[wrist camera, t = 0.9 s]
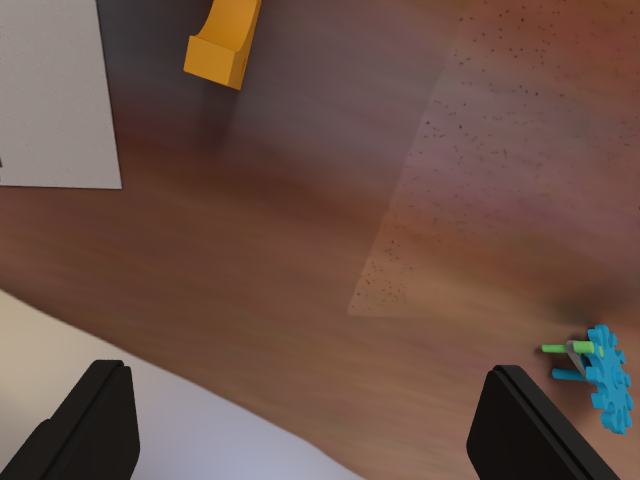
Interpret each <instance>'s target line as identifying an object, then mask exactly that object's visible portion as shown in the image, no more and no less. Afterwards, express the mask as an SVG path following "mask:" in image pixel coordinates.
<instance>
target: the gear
mask: <svg viewBox="0 0 640 480" xmlns="http://www.w3.org/2000/svg"><path fill="white" fill-rule="evenodd" d="M588 336H589V339H590V341H577V340H568V341H567V343H566V345H542V350H543V352H558V353H568V355H569V357H570V358H571V359H572V361H573V362H574V364H575V365H576V367H577V368H578V370H569V369H553V371H552V373H553V377H554V378H555V379H567V380H580V381H587V383H588V384H590V385H596V387H597V389H598V393H592V394H591V396H592V402H593V406H594V408H596V409H604V410H605V411H604V413H601V421H602V424H603V426H604V428H607V429H611V431H612V432H613V433H617V434H623V435H626V428H625V427H631V425H632V421H631V417H630V415H629V412H628V410H633V400H632V398H631V397H630V395H629V394H628V392H627V389H626V387H631V381H630V376H629V374H627V373H624V371H623V370H622V368H621V365H620V363H621V364H625V357H624V353H623V351H615V350H614V346H617V345H618V341H617V338H616V336H615V334H614V333H609V329H608V327H607V326H606V325H595V329H589V330H588ZM583 353H584V354H583ZM584 355H585V356H586V357H588V358H589V360H590V362H591V364H592V366H591V365H590V363H589V362H588V360H587V359H586V357H585V356H584Z"/></svg>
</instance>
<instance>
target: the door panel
mask: <svg viewBox="0 0 640 480" xmlns="http://www.w3.org/2000/svg"><path fill="white" fill-rule="evenodd" d="M0 185H10V186H43V187H76V188H109V189H122V188H123V187H122V179H121V172H120V165H119V158H118V151H117V144H116V136H115V129H114V122H113V115H112V108H111V101H110V93H109V86H108V79H107V72H106V65H105V58H104V50H103V43H102V36H101V29H100V22H99V15H98V7H97V0H0Z"/></svg>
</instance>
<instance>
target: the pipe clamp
mask: <svg viewBox="0 0 640 480" xmlns="http://www.w3.org/2000/svg"><path fill="white" fill-rule="evenodd" d="M261 2H262V0H214V2H213V5H212V8H211V11H210V14H209V16H208V19H207V21H206V23H205V25H204V27H203V29H202V30H201V31H200V32H199V34H197V35H196V36H191V35H190V38H189V44H188V49H187V54H186V59H185V65H184V70H183V71H186V72H189V73H191V74H194V75H197V76H200V77H203V78H206V79H209V80H212V81H214V82H217V83H220V84H223V85H226V86H229V87H232V88H235V89H237V90H240V89H241V85H242V81H243V77H244V73H245V68H246V64H247V60H248V56H249V52H250V48H251V43H252V39H253V35H254V31H255V27H256V23H257V18H258V14H259V10H260V6H261Z"/></svg>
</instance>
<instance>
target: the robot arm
mask: <svg viewBox="0 0 640 480" xmlns="http://www.w3.org/2000/svg"><path fill="white" fill-rule="evenodd" d="M466 448H467V453H468V456H469V459H470V461H471V463H472V464H473V466H474V468H475V470H476V472H477V474H478V476H479V478H480V480H620V478H619V477H618V476H617V475H616V474H615V473H614V472H613V470H612V469H611V468H610V467H609V466H608V465H607V464H606V463H605V461H604V460H603V459H602V458H601V457H600V456H599V455H598V454H597V452H596V451H595V450H594V449H593V448H592V447H591V446H590V444H589V443H588V442H587V441H586V440H585V439H584V438H583V437H582V435H581V434H580V433H579V432H578V431H577V430H576V429H575V428H574V426H573V425H572V424H571V423H570V422H569V421H568V420H567V418H566V417H565V416H564V415H563V414H562V413H561V412H560V411H559V409H558V408H557V407H556V406H555V405H554V404H553V403H552V402H551V400H550V399H549V398H548V397H547V396H546V395H545V394H544V392H543V391H542V390H541V389H540V388H539V387H538V386H537V385H536V383H535V382H534V381H533V380H532V379H531V378H530V377H529V376H528V374H527V373H526V372H525V371H524V370H523V369H522V368H521V367H520V366H517V365H496V366H495V367H493V370H492V371H489V372H488V374H487V377H486V380H485V383H484V386H483V390H482V393H481V396H480V400H479V403H478V406H477V410H476V413H475V416H474V419H473V423H472V426H471V429H470V433H469V436H468V439H467V444H466ZM139 453H140V441H139V432H138V424H137V415H136V407H135V398H134V390H133V382H132V373H131V368H130V367H129V366H124V363H123V361H121V360H96V361H94V362H93V363H92V364H91V365H90V367H89V368H88V369H87V371H86V372H85V373H84V374H83V376H82V377H81V378H80V380H79V381H78V383H77V384H76V385H75V387H74V388H73V389H72V390H71V392H70V393H69V394H68V396H67V397H66V398H65V400H64V401H63V402H62V404H61V405H60V406H59V408H58V409H57V410H56V412H55V413H54V414H53V416H52V417H51V418H50V419H46V420H45V421H43V422H41V423H40V424H39V425H38V427H36V428H35V430H34V431H33V432H32V434H31V435H30V436H29V437H28V439H27V440H26V441H25V443H24V444H23V445H22V447H21V448H20V449H19V451H18V452H17V453H16V454H15V456H14V457H13V458H12V459H11V461H10V462H9V463H8V465H7V466H6V467H5V468H4V470H3V471H2V472H1V474H0V480H130V478H131V476H132V474H133V471H134V469H135V466H136V464H137V461H138V458H139Z"/></svg>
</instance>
